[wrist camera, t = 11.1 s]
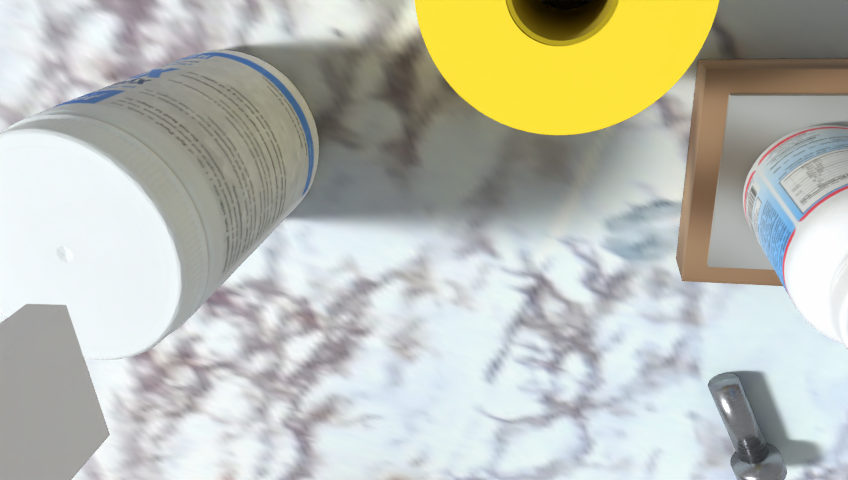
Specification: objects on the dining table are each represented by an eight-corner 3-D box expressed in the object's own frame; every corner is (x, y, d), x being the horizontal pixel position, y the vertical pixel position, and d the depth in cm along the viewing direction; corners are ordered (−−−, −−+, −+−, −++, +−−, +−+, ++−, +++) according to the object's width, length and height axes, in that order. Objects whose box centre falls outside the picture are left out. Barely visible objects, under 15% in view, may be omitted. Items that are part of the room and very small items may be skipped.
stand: (697, 59, 32) (708, 71, 30) (945, 57, 30) (979, 70, 28) (676, 258, 36) (683, 284, 34) (893, 268, 34) (918, 296, 32)
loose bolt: (696, 380, 39) (704, 409, 37) (745, 367, 38) (756, 396, 36) (732, 462, 41) (741, 495, 38) (780, 451, 40) (792, 484, 37)
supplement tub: (204, 8, 36) (-12, 59, 23) (358, 120, 37) (234, 232, 24) (132, 154, 40) (-84, 268, 27) (272, 252, 41) (126, 408, 28)
